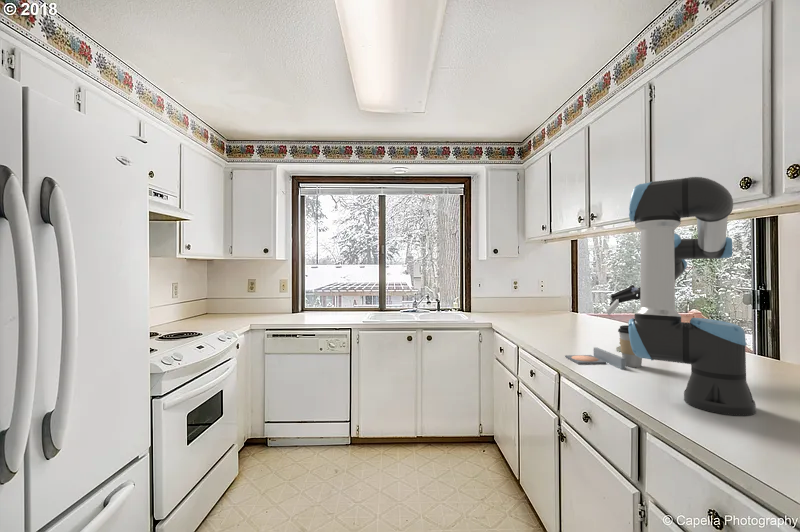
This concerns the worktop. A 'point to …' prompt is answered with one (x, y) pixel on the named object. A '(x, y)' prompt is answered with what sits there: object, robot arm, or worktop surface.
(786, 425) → the worktop surface
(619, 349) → the toy dinosaur
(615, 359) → the blue-grey rectangular bar
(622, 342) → the coffee cup
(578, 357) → the mat
